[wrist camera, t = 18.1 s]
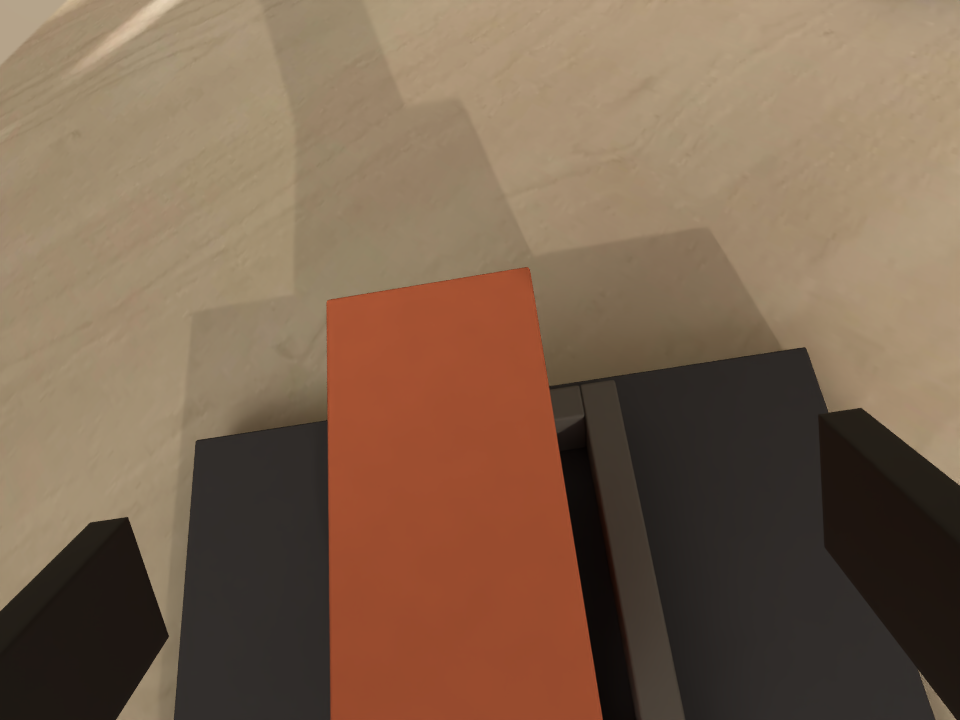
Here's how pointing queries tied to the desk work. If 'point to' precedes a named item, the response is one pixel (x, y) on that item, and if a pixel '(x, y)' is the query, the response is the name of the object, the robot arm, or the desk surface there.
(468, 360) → the orange rectangular block
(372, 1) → the desk surface
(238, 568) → the socket base
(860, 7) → the desk surface
